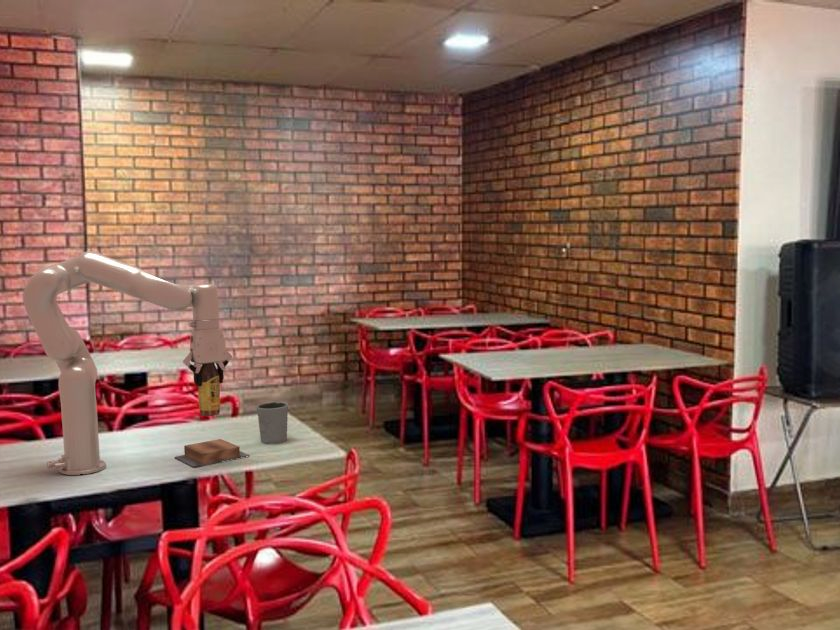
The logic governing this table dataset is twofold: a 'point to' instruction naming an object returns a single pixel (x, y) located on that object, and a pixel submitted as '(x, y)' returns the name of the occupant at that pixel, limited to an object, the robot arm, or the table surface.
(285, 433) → the grey cup
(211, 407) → the sauce bottle
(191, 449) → the brown block with base
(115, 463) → the table surface
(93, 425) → the robot arm
